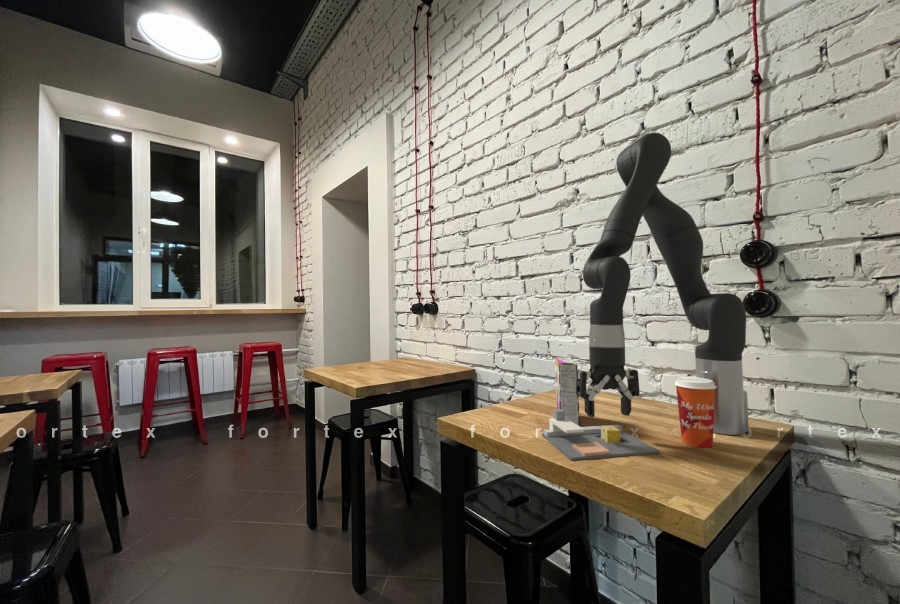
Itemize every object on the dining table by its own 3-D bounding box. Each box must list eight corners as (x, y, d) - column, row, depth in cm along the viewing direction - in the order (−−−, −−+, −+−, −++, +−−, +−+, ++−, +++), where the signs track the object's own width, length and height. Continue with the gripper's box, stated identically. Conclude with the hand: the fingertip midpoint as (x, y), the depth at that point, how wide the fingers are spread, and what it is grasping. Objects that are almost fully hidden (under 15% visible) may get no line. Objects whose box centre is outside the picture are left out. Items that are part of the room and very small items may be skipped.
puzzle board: (617, 430, 88) (617, 423, 88) (660, 453, 73) (660, 445, 73) (541, 435, 85) (541, 429, 85) (571, 460, 70) (570, 452, 70)
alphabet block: (613, 438, 82) (613, 425, 82) (620, 443, 79) (620, 429, 79) (600, 439, 82) (600, 425, 82) (607, 443, 79) (606, 430, 79)
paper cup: (680, 447, 76) (678, 381, 76) (673, 435, 83) (670, 375, 84) (725, 452, 73) (722, 383, 74) (713, 439, 80) (710, 377, 81)
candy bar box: (555, 414, 102) (554, 357, 103) (574, 414, 101) (572, 357, 102) (559, 426, 91) (558, 362, 92) (580, 427, 90) (578, 362, 91)
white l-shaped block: (565, 427, 85) (564, 408, 85) (584, 441, 77) (583, 419, 77) (549, 429, 85) (549, 409, 85) (566, 442, 76) (566, 420, 76)
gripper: (625, 342, 86) (626, 409, 86) (569, 343, 84) (570, 412, 84) (646, 345, 79) (647, 419, 78) (586, 346, 77) (587, 422, 76)
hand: (607, 415), depth 81 cm, fingers open, 8 cm apart
